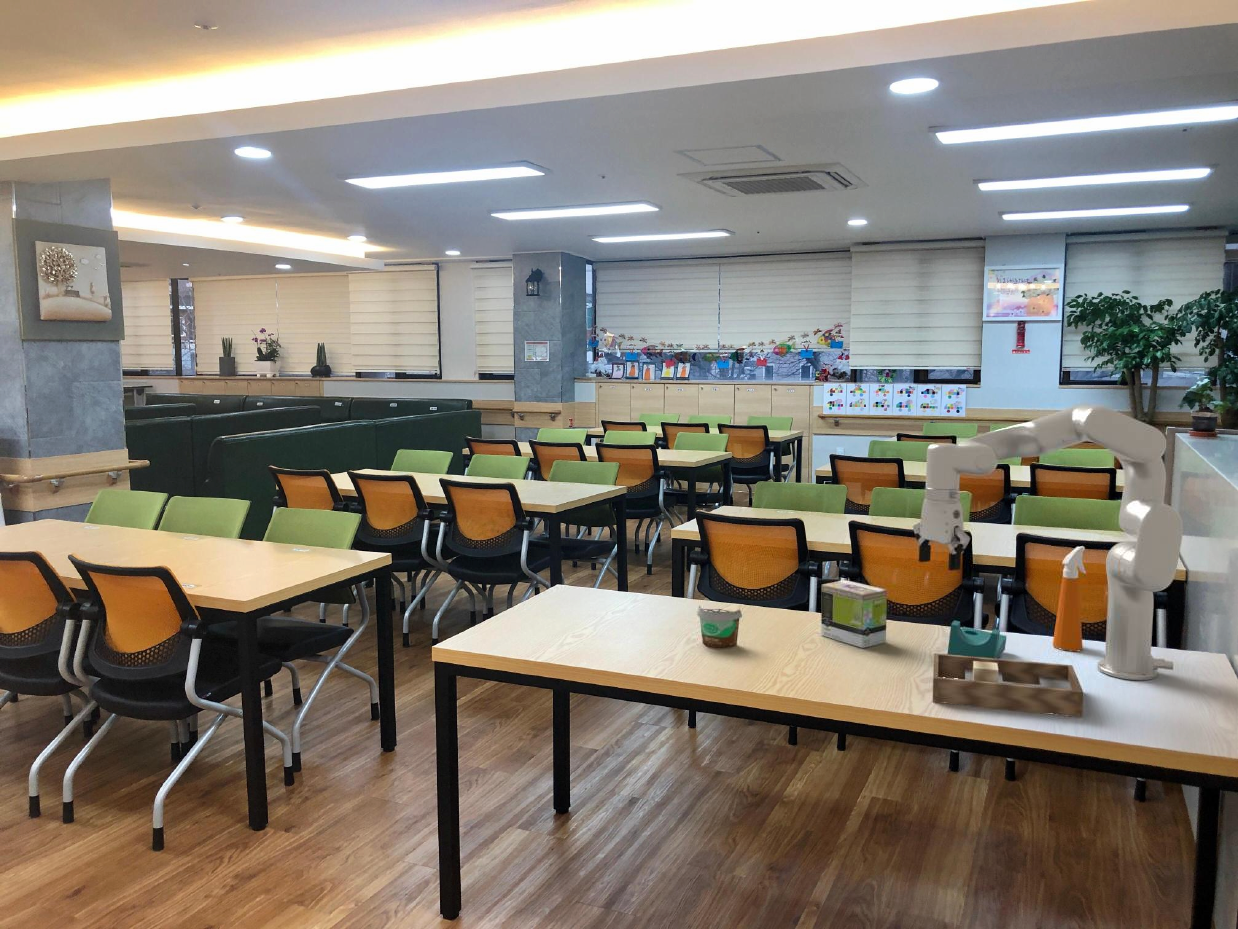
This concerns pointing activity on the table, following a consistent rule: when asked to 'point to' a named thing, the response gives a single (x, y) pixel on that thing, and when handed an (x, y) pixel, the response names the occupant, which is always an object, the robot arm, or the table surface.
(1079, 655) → the table surface
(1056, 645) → the spray bottle
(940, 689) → the box
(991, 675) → the block
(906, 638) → the table surface
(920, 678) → the table surface
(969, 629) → the teal l-shaped bracket
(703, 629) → the food container
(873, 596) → the tea box
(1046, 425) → the robot arm
